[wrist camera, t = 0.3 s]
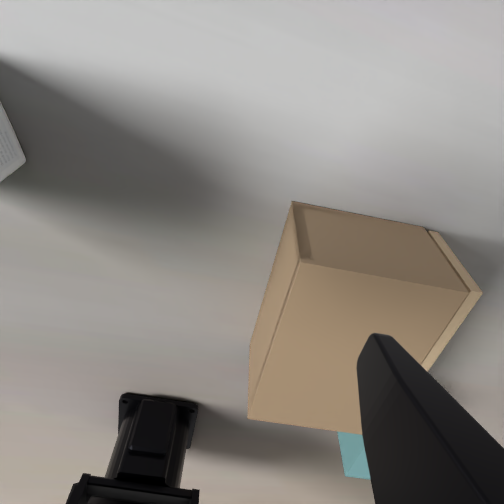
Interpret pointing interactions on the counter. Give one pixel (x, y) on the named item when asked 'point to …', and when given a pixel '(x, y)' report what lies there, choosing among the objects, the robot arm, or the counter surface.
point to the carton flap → (354, 443)
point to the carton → (342, 312)
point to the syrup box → (9, 147)
